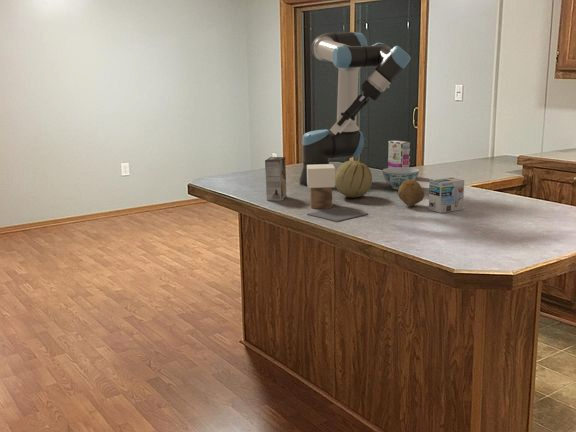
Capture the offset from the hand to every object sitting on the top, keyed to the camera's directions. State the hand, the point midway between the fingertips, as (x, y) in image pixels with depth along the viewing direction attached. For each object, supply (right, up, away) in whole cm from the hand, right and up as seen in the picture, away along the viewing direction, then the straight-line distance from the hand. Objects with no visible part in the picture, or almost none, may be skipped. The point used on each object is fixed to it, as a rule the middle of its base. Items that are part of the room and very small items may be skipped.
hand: (335, 131), depth 223 cm
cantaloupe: (+9, -23, +20) cm, 32 cm away
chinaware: (+30, -19, +36) cm, 51 cm away
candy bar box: (+34, -13, +63) cm, 73 cm away
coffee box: (-22, -24, +22) cm, 39 cm away
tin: (-5, -27, +7) cm, 28 cm away
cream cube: (-5, -19, +5) cm, 20 cm away
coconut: (+27, -27, +2) cm, 39 cm away
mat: (0, -30, -8) cm, 31 cm away
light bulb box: (+39, -29, -5) cm, 49 cm away
